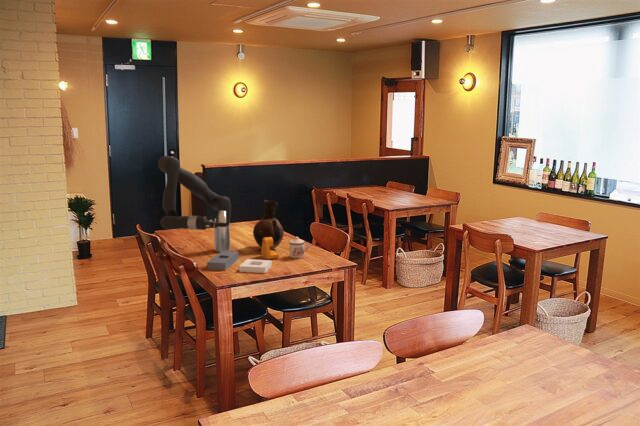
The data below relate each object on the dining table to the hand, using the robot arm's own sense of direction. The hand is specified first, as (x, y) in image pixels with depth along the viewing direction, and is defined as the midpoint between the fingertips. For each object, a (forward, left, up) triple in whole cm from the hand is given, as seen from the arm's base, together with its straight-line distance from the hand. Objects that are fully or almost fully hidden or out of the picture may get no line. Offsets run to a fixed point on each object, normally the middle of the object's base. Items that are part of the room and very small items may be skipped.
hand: (227, 224), depth 310 cm
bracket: (-18, +19, -23) cm, 35 cm away
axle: (0, -3, -10) cm, 10 cm away
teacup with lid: (-23, +35, -23) cm, 48 cm away
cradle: (+6, +17, -23) cm, 29 cm away
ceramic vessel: (-38, +13, -23) cm, 46 cm away
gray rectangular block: (0, -3, -23) cm, 23 cm away
